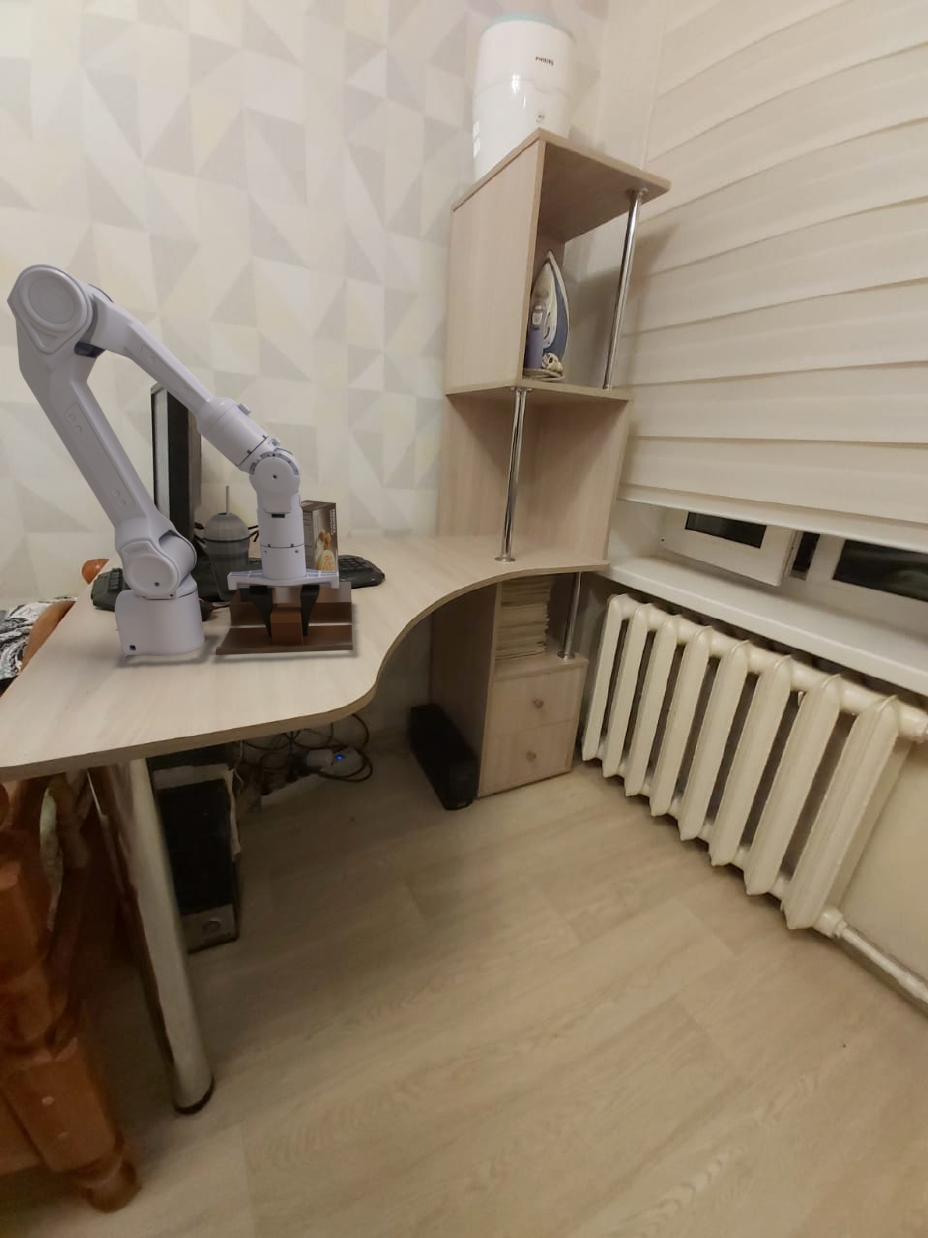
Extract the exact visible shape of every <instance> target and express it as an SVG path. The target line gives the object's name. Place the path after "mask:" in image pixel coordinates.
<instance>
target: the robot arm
mask: <svg viewBox="0 0 928 1238" xmlns="http://www.w3.org/2000/svg"><path fill="white" fill-rule="evenodd" d="M6 303H7V305H8V307H9V309H10V311H11V312H12V313H11V314H12V315H13V318H14V320H15V330H16V343H17V344H16V345H17V355H18V367H19V371H20V374H21V375H22V378H23V380H24V382H25V383H26V384H27V386H28V388H29V389H30V392H31V393H32V394H33V395H34V398H35V399H36V401H37V403H38V404H39V406H40V408H41V409H42V410H43V413H44V414H45V416H46V418H47V419H48V420H49V423H50V424H51V425H52V427H53V429H54V430H55V432H56V434H57V436H58V437H59V439H60V441H61V442H62V444H63V445H64V448H66V450H67V452H68V454H69V455H70V457H71V458H72V460H73V462H74V463H75V465H76V467H77V469H78V470H79V472H80V473H81V475H82V476H83V478H84V480H85V481H86V483H87V485H88V486H89V488H90V490H91V492H92V493H93V494H94V496H95V498H96V499H97V502H98V503H99V505H100V507H101V508H102V509H103V512H104V513H105V515H106V516H107V518H108V520H109V521H110V523H111V524H112V526H113V528H114V550H115V552H116V553H117V555H118V557H119V558H120V561H121V566H122V567H121V568H122V576H123V577H122V578H123V580H124V582H125V583H126V584H127V586H128V587H129V588H130V589H125V590H121V591H120V592H119V593H118V595H117V597H116V599H115V603H114V618H115V623H116V628H117V632H118V638H119V642H120V646H121V651H122V655H123V658H122V660H121V661H122V662H123V661H124V660H125V659H126V657H127V656H139V655H140V656H141V655H144V656H145V655H149V656H150V655H151V656H152V655H153V656H165V657H167V656H168V657H169V656H170V657H171V656H178V655H183V654H186V653H187V654H188V653H190V652H193V651H195V650H197V649H199V648H201V647H202V646H203V645H204V644H205V643H206V637H205V630H204V623H203V618H202V611H201V605H200V598H199V597H200V596H199V592H198V591H199V590H198V585H197V581H196V580H195V579H194V578H193V576H192V575H191V572H192V571H193V569H194V568H195V567H196V564H197V559H198V558H197V557H198V556H197V551H196V549H195V546H194V545H193V544H192V543H191V542H190V541H189V540H188V539H187V538H186V537H184V536H183V535H182V534H181V533H179V532H178V530H177V529H176V527H175V525H174V523H173V522H172V521H171V520H170V519H169V518H168V517H166V516H165V515H164V514H162V513H161V512H160V511H159V510H158V508H157V505H156V504H155V502H154V501H153V499H152V497H151V495H150V494H149V492H148V490H147V488H146V486H145V484H144V483H143V481H142V479H141V477H140V476H139V474H138V472H137V470H136V468H135V467H134V465H133V463H132V461H131V459H130V458H129V456H128V454H127V452H126V450H125V449H124V447H123V445H122V443H121V442H120V439H119V438H118V436H117V434H116V433H115V430H114V429H113V427H112V425H111V423H110V422H109V420H108V418H107V416H106V415H105V413H104V411H103V409H102V407H101V406H100V404H99V402H98V400H97V398H96V396H95V395H94V393H93V392H92V389H91V387H90V386H89V383H88V379H89V377H90V374H91V373H92V370H93V368H94V365H95V364H96V362H97V359H98V358H99V357H100V356H101V355H103V354H104V353H105V351H108V352H111V353H114V354H117V355H119V356H122V357H125V358H127V359H129V360H131V361H132V362H134V364H135V365H137V366H138V367H139V368H140V369H142V370H143V371H144V372H145V373H146V374H147V375H148V376H150V377H151V378H152V379H153V380H154V381H155V382H156V383H158V384H159V385H160V386H161V387H162V388H163V389H165V391H167V392H168V393H169V394H171V396H172V397H174V398H175V399H176V400H177V401H179V402H180V403H181V404H182V405H183V406H184V407H185V408H187V410H189V412H191V413H192V414H193V415H194V417H195V421H196V429H197V432H198V433H199V434H200V435H201V436H202V437H203V438H204V439H205V440H206V441H208V443H209V444H211V446H213V447H214V449H216V450H217V451H218V452H219V453H220V454H222V456H224V457H225V459H227V460H228V461H229V462H230V463H232V465H233V466H235V467H236V468H237V469H238V470H239V471H241V472H244V473H247V474H248V480H249V483H250V484H251V487H252V488H253V490H254V491H255V493H256V503H257V504H256V505H257V508H256V518H257V528H258V529H257V530H258V539H259V550H260V551H259V552H260V559H261V560H260V562H261V564H262V570H255V571H245V572H230V573H229V575H228V576H227V579H228V587H229V590H237V589H238V588H249V590H250V591H249V599H250V601H251V602H252V604H253V605H254V606H255V607H256V609H257V610H258V612H259V614H260V615H261V617H262V619H263V621H264V623H265V625H264V627H266V628H267V631H268V634H269V637H272V634H271V623H270V614H271V612H272V609H273V595H272V588H287V587H302V589H301V592H300V600H301V608H302V632H303V636H308V631H309V626H310V624H309V620H310V617H311V613H312V611H313V608H314V606H315V603H316V601H317V599H318V596H319V591H320V587H331V588H332V589H338V588H339V582H340V572H339V573H338V572H330V571H319V570H309V569H306V564H305V547H304V529H303V513H302V508H301V507H300V504H301V502H302V497H301V493H300V489H299V488H300V484H301V478H302V470H301V466H300V463H299V462H298V460H297V459H296V458H295V456H294V454H293V453H292V452H291V451H290V450H289V449H286V448H284V447H279V446H281V444H282V441H281V440H280V439H279V438H278V437H277V436H275V437H273V438H272V436H271V435H269V434H268V432H267V431H266V430H265V429H263V428H262V427H261V425H259V424H258V422H257V421H255V419H253V418H252V417H251V416H250V414H251V413H252V410H251V409H250V408H249V407H248V406H247V405H246V404H245V403H244V402H241V403H239V404H238V403H237V402H236V401H235V400H234V399H233V398H230V397H222V396H221V397H220V396H219V397H218V396H214V395H213V393H211V392H210V390H208V388H207V387H206V386H204V384H203V383H202V382H201V381H200V380H199V378H197V377H196V376H195V375H194V374H193V373H192V372H191V371H190V370H189V369H188V368H187V367H186V366H185V365H184V363H182V362H181V360H179V358H178V357H176V356H175V355H174V354H173V352H172V351H170V350H169V348H167V346H166V345H165V344H164V343H163V342H162V341H161V340H160V339H159V338H158V337H157V336H156V335H155V334H154V333H153V332H152V331H151V330H150V329H149V328H148V327H147V326H146V325H144V323H142V322H141V321H140V320H139V319H138V318H137V317H135V315H133V314H132V313H131V312H130V311H128V310H127V309H125V308H124V307H122V305H119V304H117V303H116V302H115V301H114V300H113V298H112V297H111V296H110V295H109V294H108V293H107V292H106V291H104V290H102V289H101V288H99V287H98V286H96V285H93V284H91V283H86V282H84V281H82V280H81V279H78V278H76V277H74V275H72V274H71V273H70V272H67V271H66V270H65V269H63V268H60V267H58V266H56V265H51V264H48V263H36V264H32V265H30V266H27V267H26V268H24V269H23V270H22V271H21V272H20V273H19V274H18V276H17V278H16V280H15V282H14V284H13V286H12V288H11V290H10V292H9V295H8V297H7V299H6Z"/></svg>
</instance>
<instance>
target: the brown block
mask: <svg viewBox="0 0 928 1238" xmlns="http://www.w3.org/2000/svg"><path fill="white" fill-rule="evenodd" d="M270 623H271V634H272V644H273V645H288V644H303V639H304V636H303V632H302V608H301V603H278V604H277V607H273V609H272V612H271V614H270Z"/></svg>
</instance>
